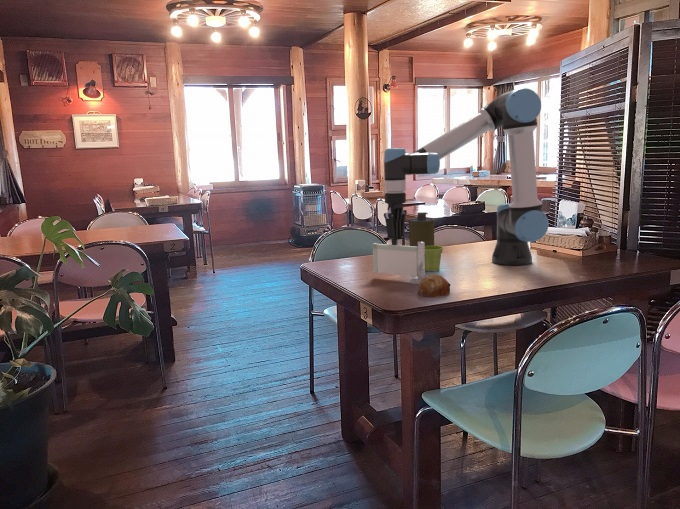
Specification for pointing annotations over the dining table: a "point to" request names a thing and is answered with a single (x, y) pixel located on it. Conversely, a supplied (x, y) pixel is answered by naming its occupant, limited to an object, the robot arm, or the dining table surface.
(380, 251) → the gate
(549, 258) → the dining table surface
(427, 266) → the plant pot
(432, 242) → the canister
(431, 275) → the bread roll
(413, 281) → the gate post
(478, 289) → the dining table surface
